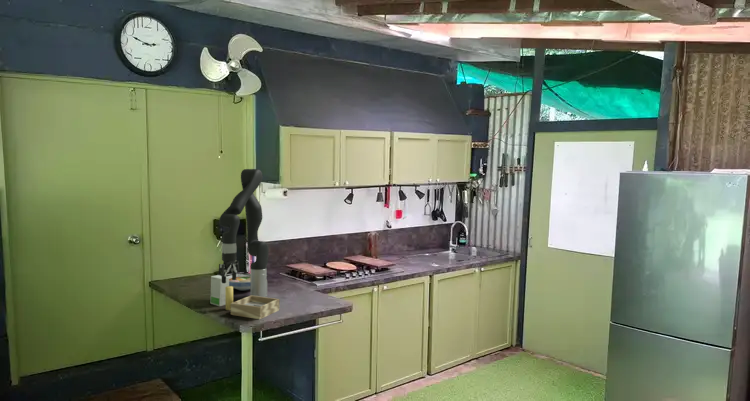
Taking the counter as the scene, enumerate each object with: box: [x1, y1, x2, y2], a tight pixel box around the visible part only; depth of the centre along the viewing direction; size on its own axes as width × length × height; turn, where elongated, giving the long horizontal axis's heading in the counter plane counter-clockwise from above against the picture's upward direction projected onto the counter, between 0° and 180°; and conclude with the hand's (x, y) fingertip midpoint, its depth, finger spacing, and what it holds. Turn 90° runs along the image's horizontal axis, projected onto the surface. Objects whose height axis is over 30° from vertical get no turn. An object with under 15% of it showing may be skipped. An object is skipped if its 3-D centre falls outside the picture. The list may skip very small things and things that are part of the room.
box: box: [230, 295, 281, 320], centre depth 275 cm, size 18×18×6 cm
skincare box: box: [210, 274, 229, 307], centre depth 289 cm, size 8×7×16 cm
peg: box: [224, 286, 234, 311], centre depth 279 cm, size 4×4×12 cm
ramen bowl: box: [226, 272, 269, 292], centre depth 323 cm, size 25×23×8 cm
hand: (229, 281), depth 279 cm, fingers open, 8 cm apart
